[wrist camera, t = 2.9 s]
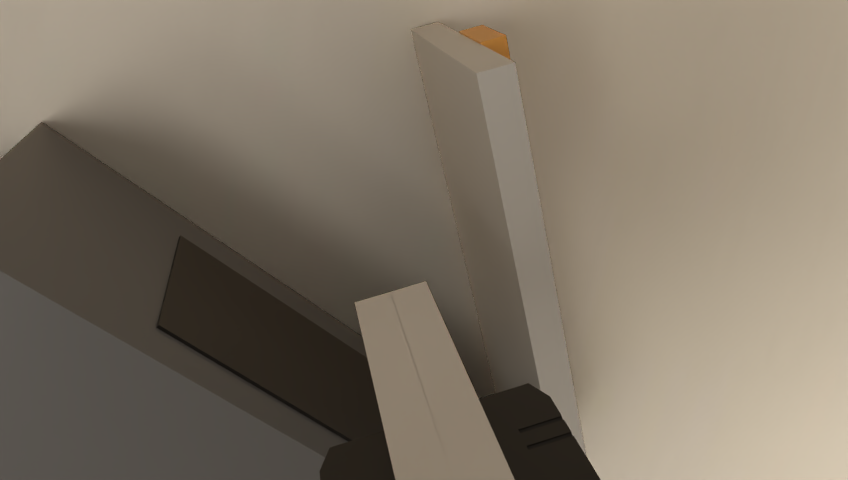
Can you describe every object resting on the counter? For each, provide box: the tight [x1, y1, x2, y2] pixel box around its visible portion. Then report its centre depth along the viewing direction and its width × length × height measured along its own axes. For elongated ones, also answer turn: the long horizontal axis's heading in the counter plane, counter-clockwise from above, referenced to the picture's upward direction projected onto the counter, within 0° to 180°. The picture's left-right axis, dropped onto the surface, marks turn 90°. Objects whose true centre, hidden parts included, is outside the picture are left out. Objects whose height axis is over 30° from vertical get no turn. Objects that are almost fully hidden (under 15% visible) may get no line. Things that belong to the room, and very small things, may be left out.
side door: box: [411, 22, 586, 455], centre depth 21 cm, size 14×2×7 cm, turn 13°
